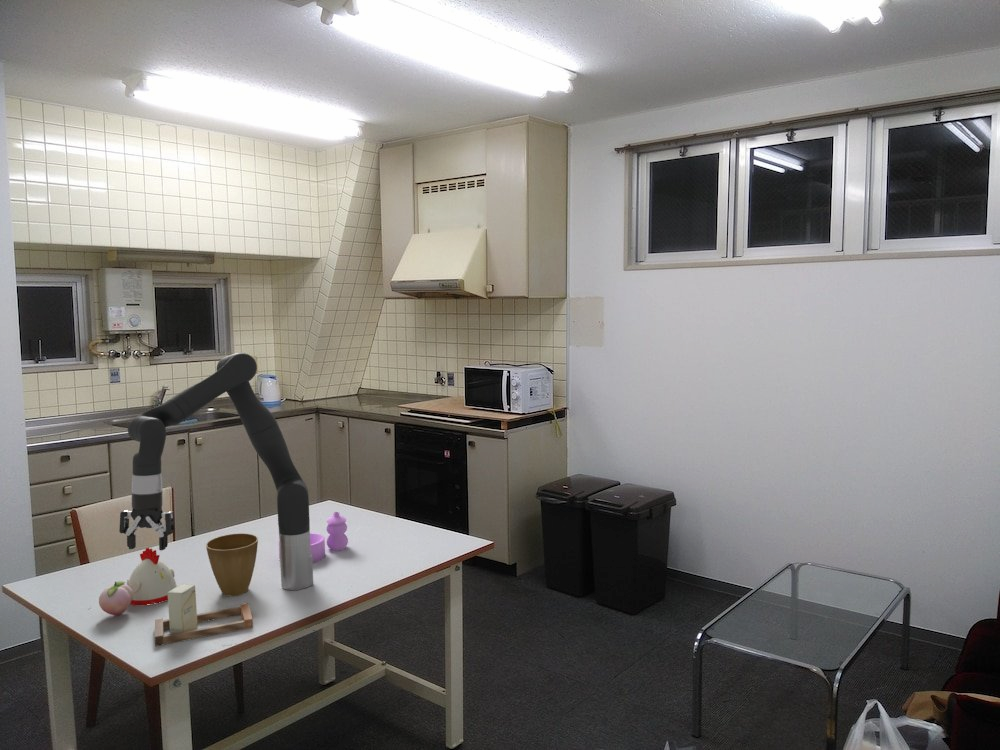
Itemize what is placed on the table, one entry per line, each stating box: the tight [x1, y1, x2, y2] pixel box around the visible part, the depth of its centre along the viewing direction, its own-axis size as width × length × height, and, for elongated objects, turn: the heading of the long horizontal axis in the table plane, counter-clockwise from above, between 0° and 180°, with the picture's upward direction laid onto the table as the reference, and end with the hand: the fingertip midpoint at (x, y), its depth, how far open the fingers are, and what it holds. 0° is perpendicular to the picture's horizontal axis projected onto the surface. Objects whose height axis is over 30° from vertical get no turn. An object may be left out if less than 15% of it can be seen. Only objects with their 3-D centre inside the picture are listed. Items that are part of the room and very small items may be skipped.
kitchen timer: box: [126, 547, 177, 606], centre depth 220 cm, size 14×14×15 cm
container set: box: [278, 511, 349, 564], centre depth 256 cm, size 25×15×13 cm, turn 132°
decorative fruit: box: [98, 580, 133, 617], centre depth 207 cm, size 9×8×10 cm
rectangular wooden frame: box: [154, 603, 254, 647], centre depth 198 cm, size 24×11×2 cm, turn 115°
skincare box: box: [167, 583, 199, 634], centre depth 196 cm, size 6×4×12 cm
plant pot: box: [205, 532, 259, 597], centre depth 223 cm, size 15×15×16 cm
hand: (147, 549), depth 199 cm, fingers open, 8 cm apart
